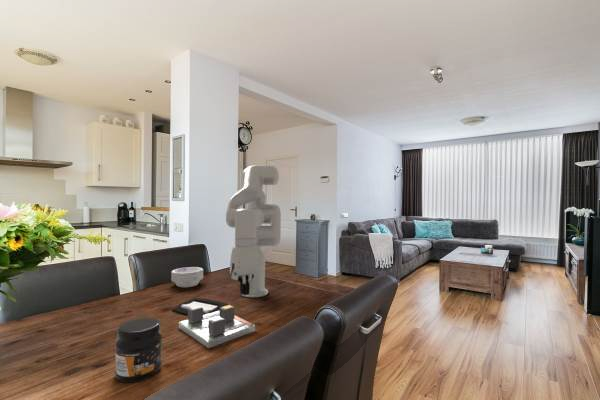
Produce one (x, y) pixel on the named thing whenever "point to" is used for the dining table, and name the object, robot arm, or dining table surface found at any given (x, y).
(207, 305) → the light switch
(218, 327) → the breaker right
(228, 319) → the block
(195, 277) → the grey round bowl
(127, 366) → the supplement container
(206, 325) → the panel
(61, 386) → the dining table surface
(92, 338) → the dining table surface
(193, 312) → the block
